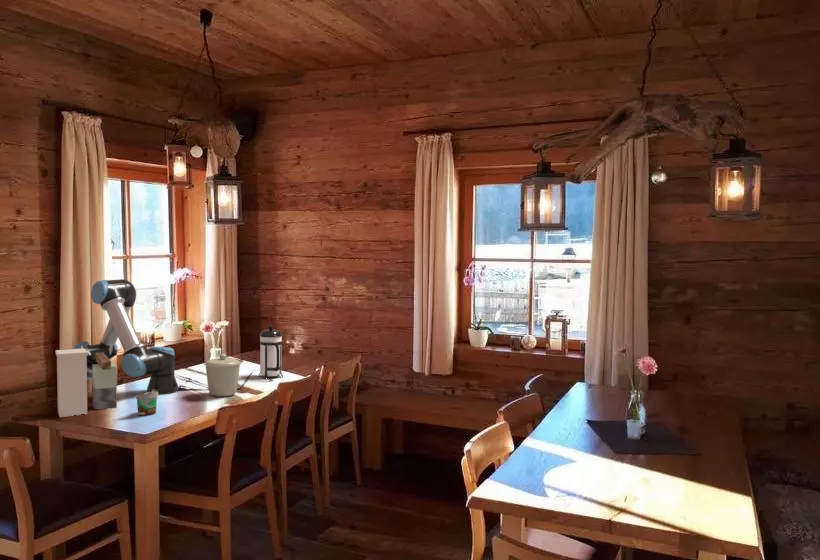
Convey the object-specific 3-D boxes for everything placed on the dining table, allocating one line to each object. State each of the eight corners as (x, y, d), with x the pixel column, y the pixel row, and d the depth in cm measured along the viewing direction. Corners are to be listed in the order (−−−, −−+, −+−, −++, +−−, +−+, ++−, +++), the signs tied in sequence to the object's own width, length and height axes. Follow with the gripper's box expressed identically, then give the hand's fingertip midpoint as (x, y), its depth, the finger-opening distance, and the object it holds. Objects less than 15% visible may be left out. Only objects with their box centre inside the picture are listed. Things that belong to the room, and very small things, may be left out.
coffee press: (251, 378, 379) (251, 326, 377) (266, 373, 394) (266, 323, 392) (278, 381, 374) (278, 328, 372) (292, 375, 389) (292, 324, 387)
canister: (240, 398, 332) (240, 356, 331) (202, 399, 328) (202, 357, 327) (241, 390, 350) (241, 350, 349) (205, 391, 346) (205, 351, 345)
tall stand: (85, 408, 308) (85, 348, 306) (88, 414, 297) (87, 352, 296) (56, 411, 301) (55, 350, 300) (58, 417, 291) (57, 354, 290)
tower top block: (113, 383, 318) (113, 362, 317) (116, 387, 309) (116, 366, 309) (92, 384, 313) (92, 364, 313) (95, 389, 305) (94, 368, 304)
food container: (148, 417, 293) (148, 395, 293) (136, 416, 294) (135, 394, 294) (164, 411, 305) (164, 389, 305) (152, 410, 306) (152, 388, 306)
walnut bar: (103, 359, 326) (103, 352, 326) (111, 369, 302) (110, 361, 302) (95, 360, 324) (95, 352, 324) (102, 369, 300) (102, 362, 300)
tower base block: (113, 403, 318) (113, 383, 318) (116, 407, 310) (116, 387, 309) (92, 405, 314) (92, 384, 313) (95, 410, 305) (95, 389, 305)
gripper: (119, 368, 348) (124, 353, 331) (66, 372, 335) (69, 357, 319) (118, 354, 351) (123, 339, 334) (65, 358, 338) (68, 342, 321)
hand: (97, 347), depth 326 cm, fingers open, 12 cm apart
